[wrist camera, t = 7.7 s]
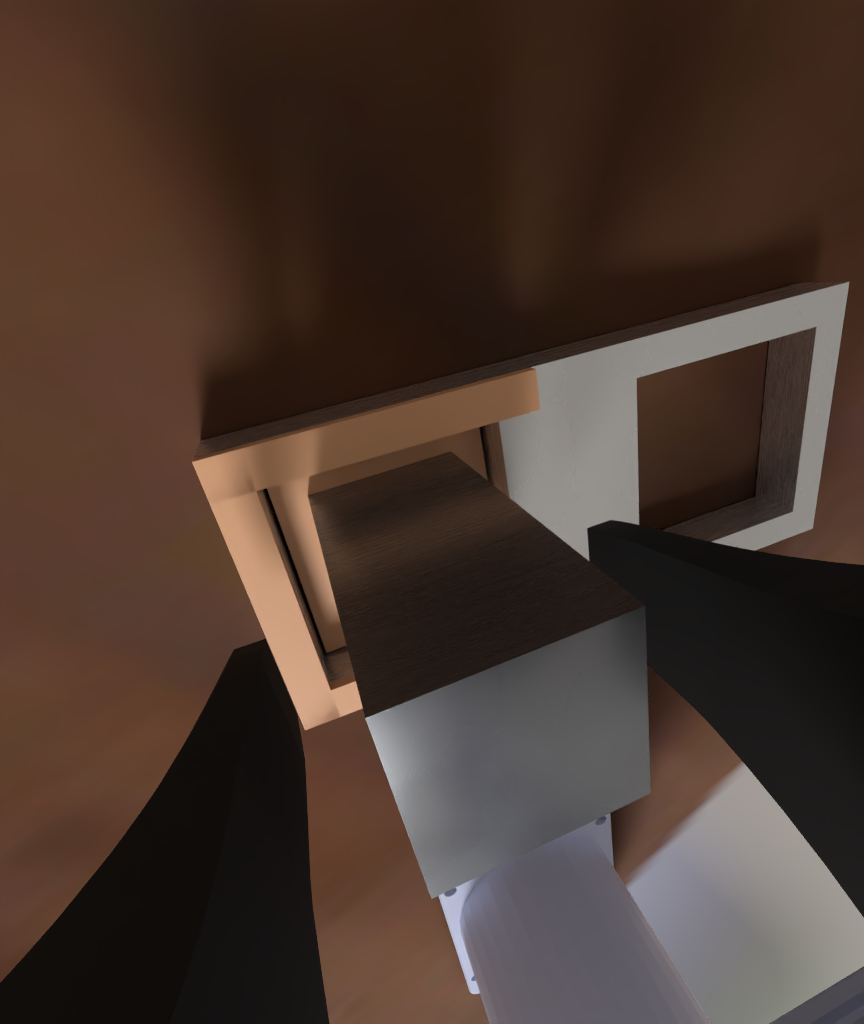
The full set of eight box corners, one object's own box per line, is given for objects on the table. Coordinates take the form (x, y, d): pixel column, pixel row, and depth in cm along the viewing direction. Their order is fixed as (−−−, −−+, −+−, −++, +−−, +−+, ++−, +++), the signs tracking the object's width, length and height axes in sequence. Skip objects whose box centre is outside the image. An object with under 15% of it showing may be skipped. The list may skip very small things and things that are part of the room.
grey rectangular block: (475, 572, 16) (651, 793, 9) (349, 617, 15) (431, 898, 8) (451, 451, 14) (645, 606, 7) (307, 495, 13) (365, 718, 6)
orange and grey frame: (774, 512, 19) (812, 528, 18) (300, 686, 16) (304, 722, 15) (800, 282, 16) (849, 281, 15) (200, 440, 12) (193, 458, 11)
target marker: (534, 600, 17) (562, 631, 16) (300, 686, 16) (305, 730, 14) (504, 360, 14) (536, 368, 12) (200, 440, 12) (192, 462, 11)
